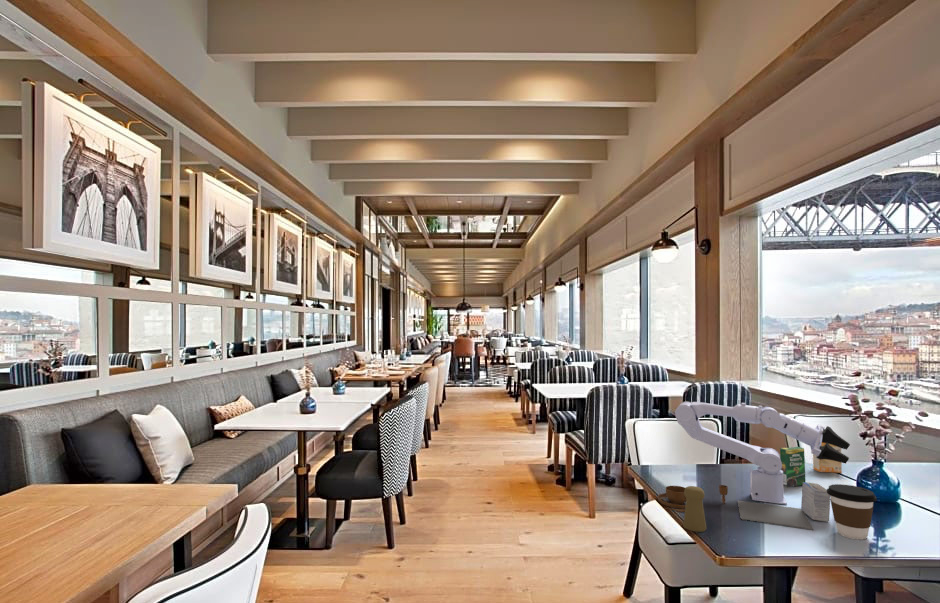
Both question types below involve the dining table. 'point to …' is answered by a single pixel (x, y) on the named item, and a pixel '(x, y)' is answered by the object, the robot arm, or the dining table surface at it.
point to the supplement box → (827, 463)
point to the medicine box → (815, 501)
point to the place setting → (682, 497)
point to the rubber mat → (773, 514)
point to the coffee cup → (852, 510)
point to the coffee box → (793, 466)
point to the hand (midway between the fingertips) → (847, 453)
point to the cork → (694, 509)
